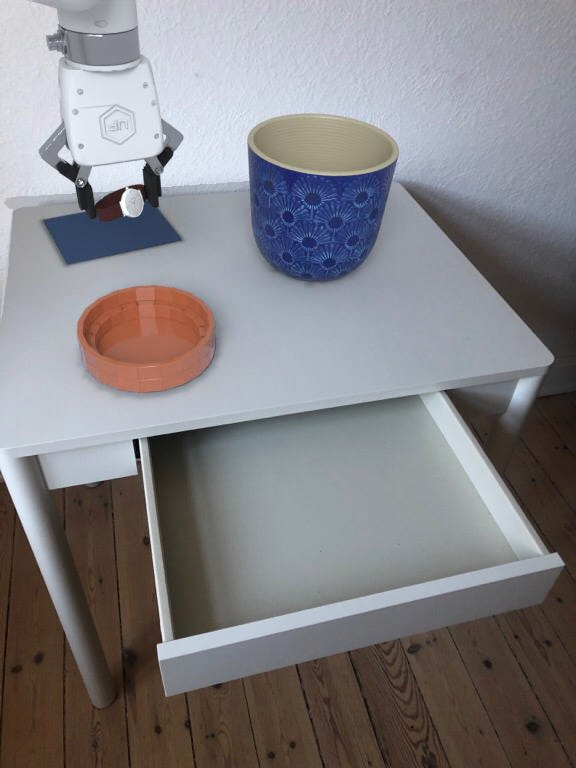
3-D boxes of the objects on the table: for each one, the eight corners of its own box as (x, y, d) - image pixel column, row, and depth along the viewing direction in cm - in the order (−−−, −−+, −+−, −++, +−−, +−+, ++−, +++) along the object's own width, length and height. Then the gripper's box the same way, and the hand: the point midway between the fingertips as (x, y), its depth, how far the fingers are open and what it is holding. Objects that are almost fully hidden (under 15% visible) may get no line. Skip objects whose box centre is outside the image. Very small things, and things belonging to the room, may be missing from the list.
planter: (290, 216, 109) (298, 102, 96) (399, 256, 102) (423, 137, 89) (218, 268, 96) (216, 143, 83) (336, 317, 89) (355, 189, 76)
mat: (67, 264, 94) (66, 262, 94) (43, 221, 103) (43, 219, 103) (180, 240, 101) (180, 237, 101) (150, 202, 110) (149, 199, 110)
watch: (118, 232, 73) (114, 202, 70) (85, 221, 74) (80, 191, 72) (157, 205, 78) (155, 177, 76) (126, 195, 79) (123, 167, 77)
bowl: (106, 412, 73) (100, 383, 70) (67, 331, 83) (61, 303, 80) (235, 371, 79) (236, 343, 76) (185, 301, 89) (183, 274, 86)
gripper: (19, 63, 58) (55, 237, 70) (196, 49, 65) (201, 209, 77) (3, 40, 63) (39, 206, 75) (170, 29, 69) (179, 183, 81)
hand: (121, 207), depth 76 cm, fingers closed on watch, 6 cm apart
